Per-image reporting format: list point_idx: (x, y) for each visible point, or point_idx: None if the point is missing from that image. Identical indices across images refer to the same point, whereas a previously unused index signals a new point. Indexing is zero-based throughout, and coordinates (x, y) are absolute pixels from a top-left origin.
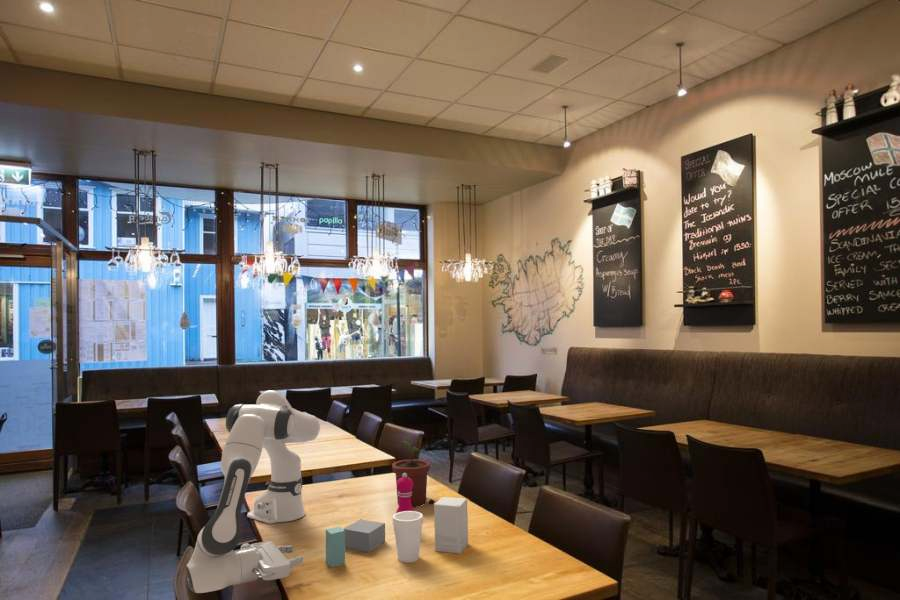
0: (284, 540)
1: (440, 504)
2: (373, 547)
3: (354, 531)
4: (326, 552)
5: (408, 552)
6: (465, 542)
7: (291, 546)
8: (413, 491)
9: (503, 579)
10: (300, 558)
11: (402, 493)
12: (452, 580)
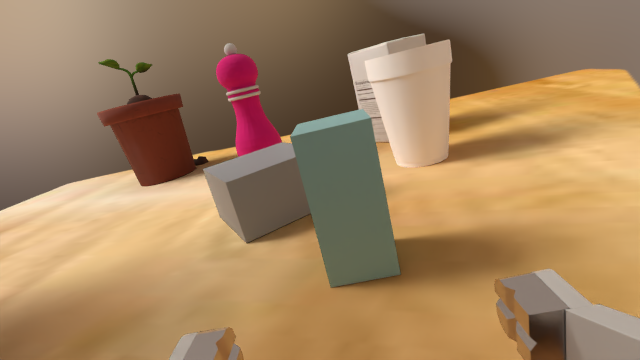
0: None
1: (395, 40)
2: None
3: (272, 167)
4: (328, 242)
5: (448, 131)
6: None
7: (220, 331)
8: (178, 143)
9: (572, 96)
10: (560, 286)
11: (249, 87)
12: (577, 117)
